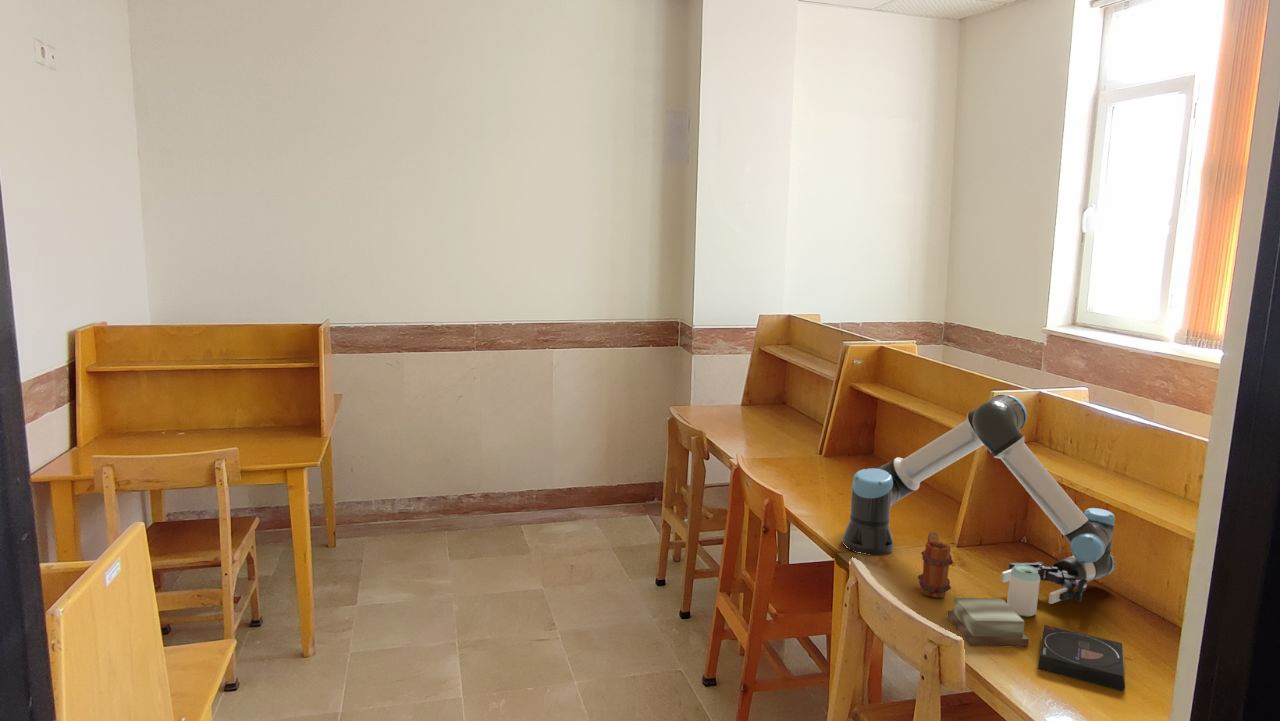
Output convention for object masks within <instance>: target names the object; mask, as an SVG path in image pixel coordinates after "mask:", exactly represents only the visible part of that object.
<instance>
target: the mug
mask: <svg viewBox="0 0 1280 721" xmlns="http://www.w3.org/2000/svg"><path fill="white" fill-rule="evenodd" d="M939 537H940V536H939V533H938V532H935V531H930V532H928V536H927V542H926V544H925V550H923V551H921V552H920V553H921V555H922V560H923V564H922V565H923V569H922V573H921V574H919V575H917V579H918V580H919V582H918V584H919V587H920V589H921V590H920V591H921V593H922V594H923V595H925V596H927V597H931V598H943V597H945V596H946V593H947V592H948V591H950V590H951V589H952V586H951V585H950V584H951V582H950V579H949V578H948V576H949V568H950V565H953V563H954V561H953V560H952V555H951V546H950V545H949V544H948V543H944V542H943V541H940V540H939Z"/></svg>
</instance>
